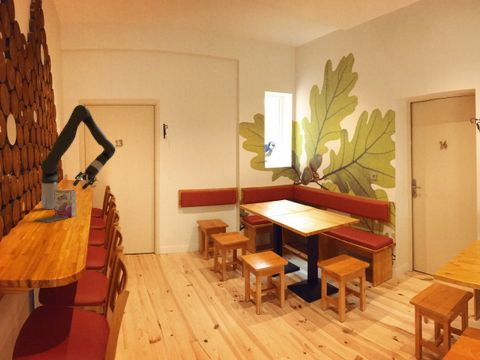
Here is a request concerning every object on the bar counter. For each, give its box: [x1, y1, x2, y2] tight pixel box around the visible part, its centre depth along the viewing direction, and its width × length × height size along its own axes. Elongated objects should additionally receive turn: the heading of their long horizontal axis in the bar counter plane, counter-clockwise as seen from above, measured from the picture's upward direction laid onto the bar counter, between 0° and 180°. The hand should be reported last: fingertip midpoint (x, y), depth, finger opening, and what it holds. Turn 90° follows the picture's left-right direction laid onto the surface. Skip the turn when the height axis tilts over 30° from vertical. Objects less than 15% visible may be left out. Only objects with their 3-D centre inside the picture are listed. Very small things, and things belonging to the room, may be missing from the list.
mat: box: [34, 214, 69, 224], centre depth 197 cm, size 11×13×1 cm
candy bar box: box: [54, 188, 77, 218], centre depth 206 cm, size 11×5×16 cm, turn 84°
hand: (78, 187), depth 219 cm, fingers open, 8 cm apart
